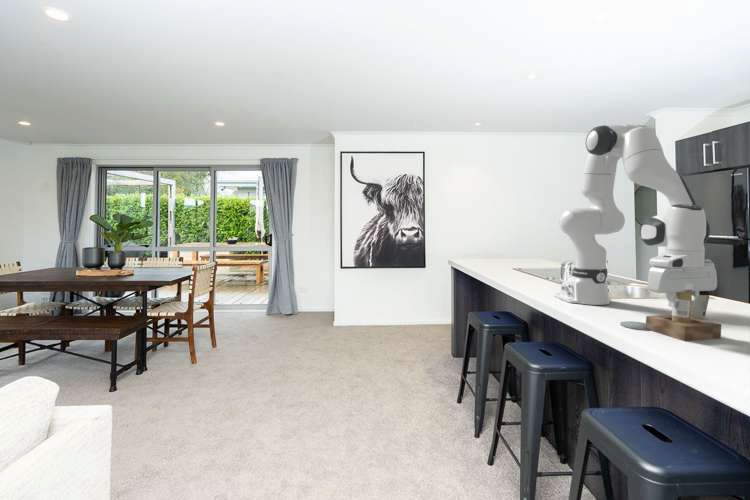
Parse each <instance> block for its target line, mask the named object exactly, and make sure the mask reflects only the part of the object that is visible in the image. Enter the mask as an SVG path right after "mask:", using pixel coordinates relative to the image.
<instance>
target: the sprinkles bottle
mask: <svg viewBox="0 0 750 500" xmlns="http://www.w3.org/2000/svg"><path fill="white" fill-rule="evenodd" d="M692 289H693V283H686V284H685V291H684V292H676V296H674V297H675V299H676V301H678V302H679V304H678V307H671V308H672V309H671V315H672V321H676V322H680V323H683V324H684V323H691V311H692V307H691V303H692Z"/></svg>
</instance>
